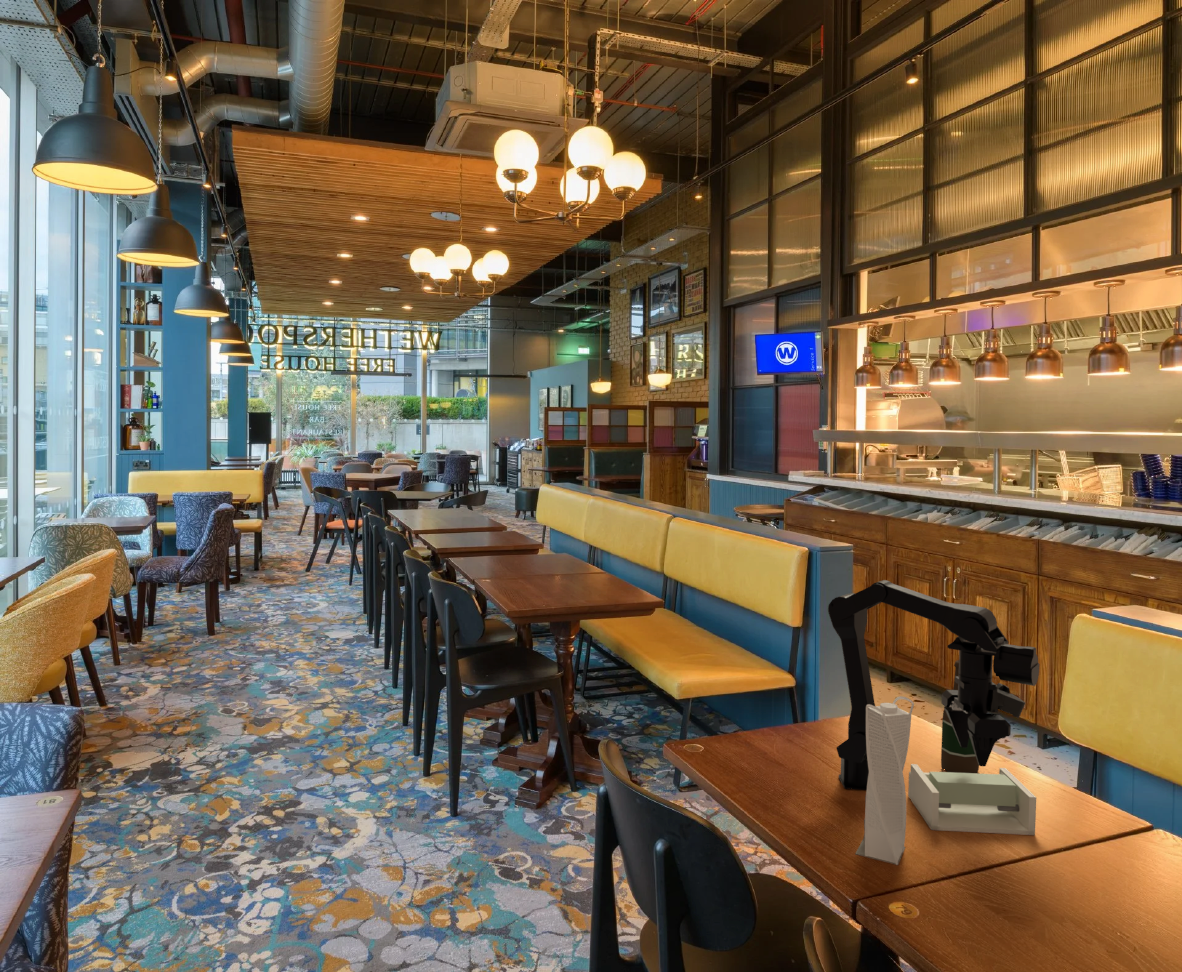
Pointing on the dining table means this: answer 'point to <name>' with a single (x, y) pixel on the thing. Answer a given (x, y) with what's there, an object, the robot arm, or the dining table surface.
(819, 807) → the dining table surface
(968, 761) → the beer bottle
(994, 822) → the tray
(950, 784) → the shelf board
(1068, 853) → the dining table surface
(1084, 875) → the dining table surface
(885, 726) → the skyscraper
